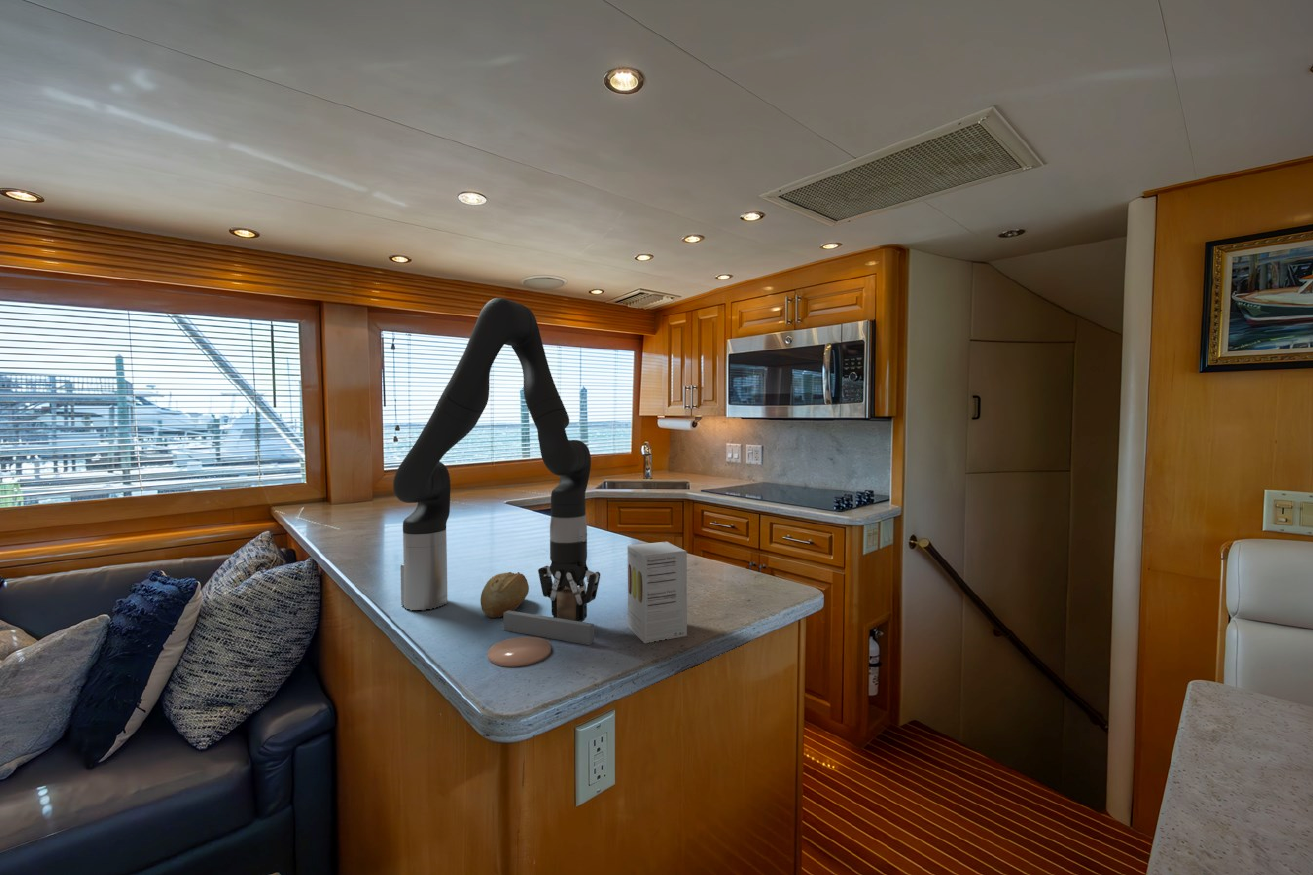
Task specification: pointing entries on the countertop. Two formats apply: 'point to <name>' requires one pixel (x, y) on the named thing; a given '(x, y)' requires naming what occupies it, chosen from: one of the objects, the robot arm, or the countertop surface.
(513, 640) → the terracotta saucer
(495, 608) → the bread roll
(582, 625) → the plastic fence
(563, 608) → the walnut cylinder
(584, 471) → the robot arm
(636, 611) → the supplement box
